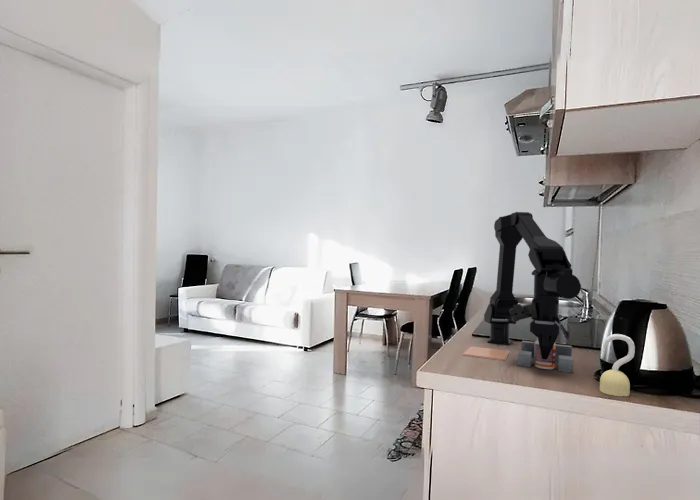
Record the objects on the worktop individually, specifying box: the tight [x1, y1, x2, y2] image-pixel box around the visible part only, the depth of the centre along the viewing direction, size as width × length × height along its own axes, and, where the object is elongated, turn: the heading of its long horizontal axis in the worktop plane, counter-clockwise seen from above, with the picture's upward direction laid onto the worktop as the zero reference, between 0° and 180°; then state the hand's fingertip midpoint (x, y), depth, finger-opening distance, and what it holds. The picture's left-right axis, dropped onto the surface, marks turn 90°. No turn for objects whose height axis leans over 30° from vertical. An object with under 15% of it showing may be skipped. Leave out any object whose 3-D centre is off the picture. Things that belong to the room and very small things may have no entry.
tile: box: [462, 345, 511, 362], centre depth 120 cm, size 11×11×1 cm
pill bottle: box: [533, 337, 557, 370], centre depth 107 cm, size 5×5×8 cm
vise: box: [517, 340, 574, 373], centre depth 113 cm, size 17×12×4 cm
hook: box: [599, 333, 636, 397], centre depth 88 cm, size 6×5×12 cm
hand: (544, 357), depth 107 cm, fingers closed on pill bottle, 5 cm apart
